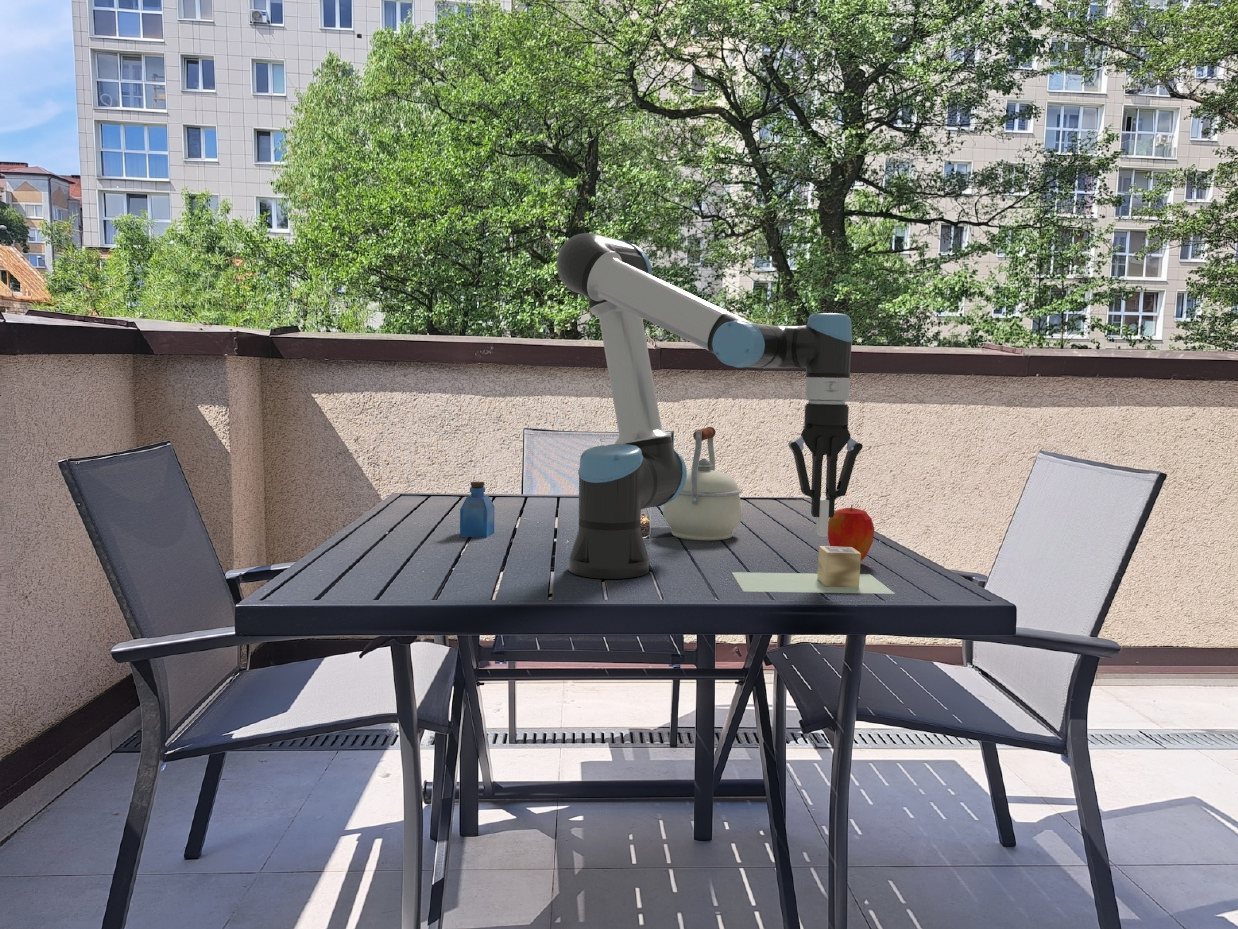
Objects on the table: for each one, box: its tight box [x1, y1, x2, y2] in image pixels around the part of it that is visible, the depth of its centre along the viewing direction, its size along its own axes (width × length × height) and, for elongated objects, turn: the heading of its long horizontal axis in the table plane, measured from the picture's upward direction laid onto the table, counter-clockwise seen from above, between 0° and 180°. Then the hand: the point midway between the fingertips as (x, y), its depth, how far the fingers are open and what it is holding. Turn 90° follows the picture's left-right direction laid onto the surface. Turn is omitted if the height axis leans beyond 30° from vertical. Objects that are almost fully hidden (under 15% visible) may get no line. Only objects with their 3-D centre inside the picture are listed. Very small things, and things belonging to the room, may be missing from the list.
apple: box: [827, 503, 875, 562], centre depth 181 cm, size 9×9×12 cm
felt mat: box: [731, 571, 896, 595], centre depth 163 cm, size 26×15×1 cm, turn 91°
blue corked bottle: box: [459, 481, 495, 539], centre depth 206 cm, size 6×6×12 cm
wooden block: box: [816, 545, 862, 587], centre depth 162 cm, size 6×6×6 cm
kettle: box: [662, 426, 744, 542], centre depth 211 cm, size 25×18×25 cm
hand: (821, 535), depth 162 cm, fingers closed
